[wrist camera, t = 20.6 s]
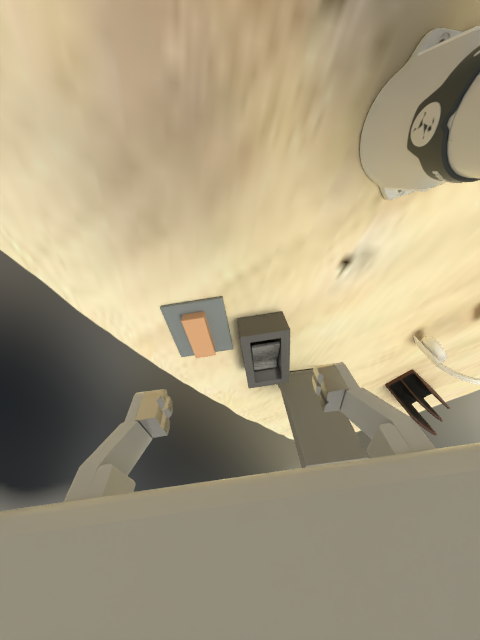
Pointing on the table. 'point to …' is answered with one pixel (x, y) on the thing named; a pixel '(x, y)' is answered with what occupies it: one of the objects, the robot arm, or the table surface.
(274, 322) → the pocket block
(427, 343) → the headset
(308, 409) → the grey flat-topped box
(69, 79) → the table surface
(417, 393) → the letter holder
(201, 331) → the tile
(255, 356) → the plate
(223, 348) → the mat
